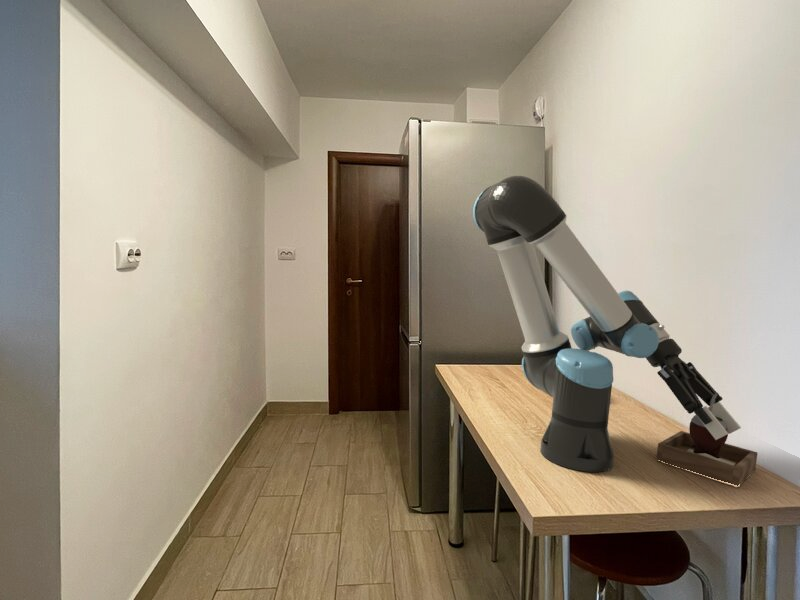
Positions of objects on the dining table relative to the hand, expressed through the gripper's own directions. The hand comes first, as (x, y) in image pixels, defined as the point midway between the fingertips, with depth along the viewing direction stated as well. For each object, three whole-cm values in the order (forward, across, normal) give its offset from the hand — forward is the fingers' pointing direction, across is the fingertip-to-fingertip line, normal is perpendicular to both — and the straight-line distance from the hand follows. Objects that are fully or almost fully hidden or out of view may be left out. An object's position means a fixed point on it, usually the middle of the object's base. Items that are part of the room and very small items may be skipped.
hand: (728, 433), depth 96 cm
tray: (+3, 0, +8) cm, 9 cm away
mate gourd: (+2, 0, +7) cm, 7 cm away
